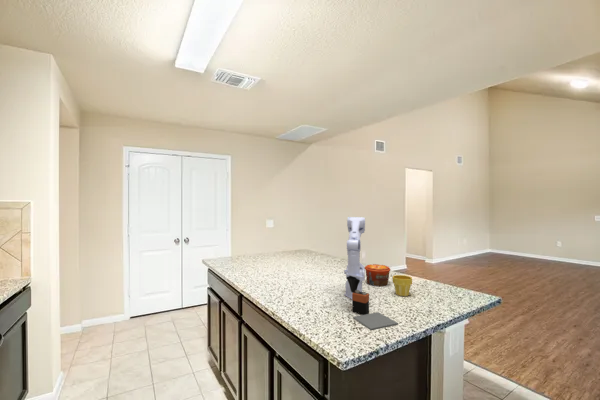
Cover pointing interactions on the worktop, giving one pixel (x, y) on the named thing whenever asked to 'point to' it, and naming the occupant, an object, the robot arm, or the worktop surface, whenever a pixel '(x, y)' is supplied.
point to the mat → (375, 321)
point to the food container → (377, 274)
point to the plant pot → (402, 284)
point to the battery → (360, 302)
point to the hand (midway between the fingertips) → (353, 292)
